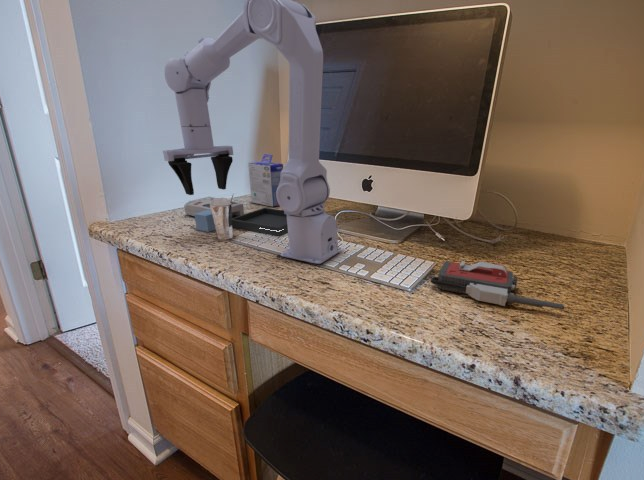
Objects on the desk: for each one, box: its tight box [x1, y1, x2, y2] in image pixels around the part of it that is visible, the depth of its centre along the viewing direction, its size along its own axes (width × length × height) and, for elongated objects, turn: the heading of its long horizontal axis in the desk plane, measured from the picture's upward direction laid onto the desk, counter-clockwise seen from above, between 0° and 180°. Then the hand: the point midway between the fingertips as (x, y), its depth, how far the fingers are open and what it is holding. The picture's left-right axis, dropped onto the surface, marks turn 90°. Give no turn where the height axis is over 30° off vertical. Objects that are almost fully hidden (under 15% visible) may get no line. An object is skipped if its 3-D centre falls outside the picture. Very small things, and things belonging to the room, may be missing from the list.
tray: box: [232, 207, 288, 237], centre depth 95 cm, size 15×13×2 cm
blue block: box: [193, 210, 216, 233], centre depth 90 cm, size 4×4×4 cm
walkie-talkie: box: [430, 260, 566, 311], centre depth 60 cm, size 9×4×20 cm
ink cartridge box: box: [247, 153, 284, 208], centre depth 112 cm, size 10×6×14 cm, turn 57°
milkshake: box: [209, 193, 234, 241], centre depth 83 cm, size 4×5×10 cm
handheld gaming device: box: [183, 196, 245, 217], centre depth 101 cm, size 9×15×4 cm, turn 57°
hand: (206, 191), depth 83 cm, fingers open, 7 cm apart
